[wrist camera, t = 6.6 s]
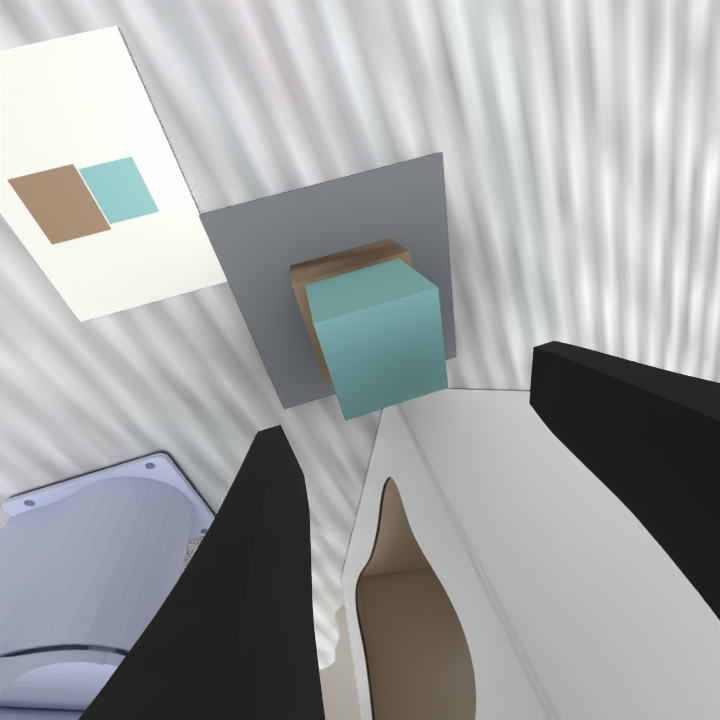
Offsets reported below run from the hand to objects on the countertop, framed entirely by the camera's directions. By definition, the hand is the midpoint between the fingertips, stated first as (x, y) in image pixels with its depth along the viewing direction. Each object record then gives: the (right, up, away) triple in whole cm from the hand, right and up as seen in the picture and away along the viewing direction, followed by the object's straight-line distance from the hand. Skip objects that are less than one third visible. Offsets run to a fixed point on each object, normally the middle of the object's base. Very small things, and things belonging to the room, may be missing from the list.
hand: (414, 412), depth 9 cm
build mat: (-2, +5, +8) cm, 10 cm away
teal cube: (-1, +3, +5) cm, 7 cm away
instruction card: (-12, +8, +4) cm, 15 cm away
